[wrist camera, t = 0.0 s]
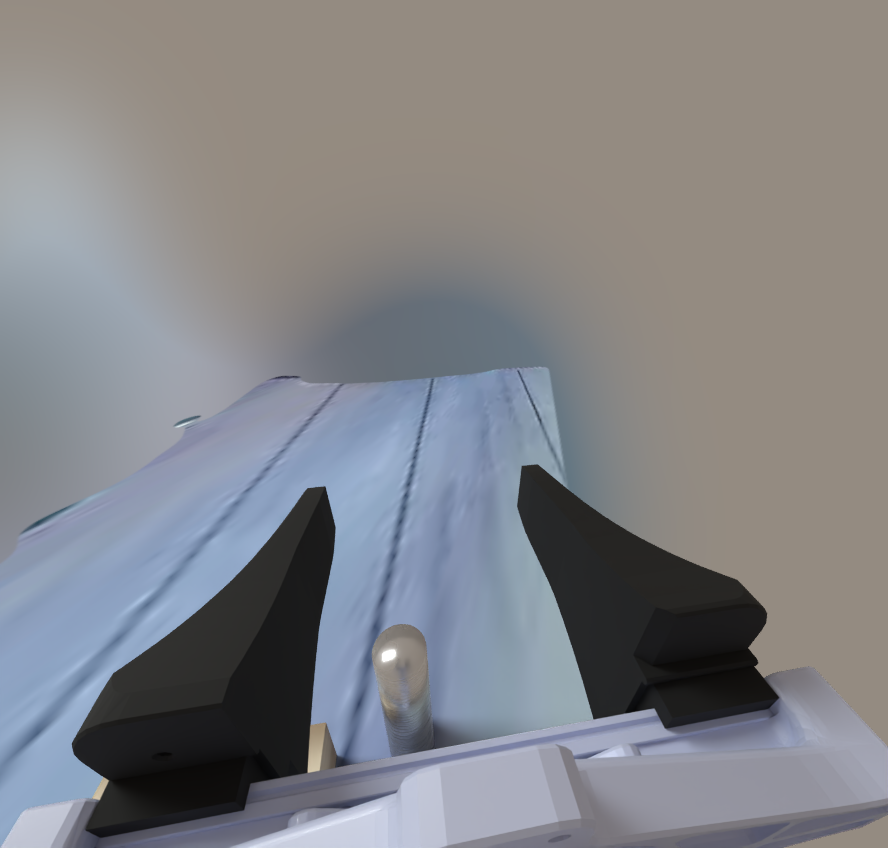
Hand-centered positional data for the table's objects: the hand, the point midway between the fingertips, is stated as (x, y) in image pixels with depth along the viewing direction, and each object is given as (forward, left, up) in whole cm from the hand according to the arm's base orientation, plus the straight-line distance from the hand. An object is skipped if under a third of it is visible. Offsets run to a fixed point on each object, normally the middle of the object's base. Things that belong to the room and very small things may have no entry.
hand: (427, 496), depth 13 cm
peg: (+2, +2, -22) cm, 22 cm away
